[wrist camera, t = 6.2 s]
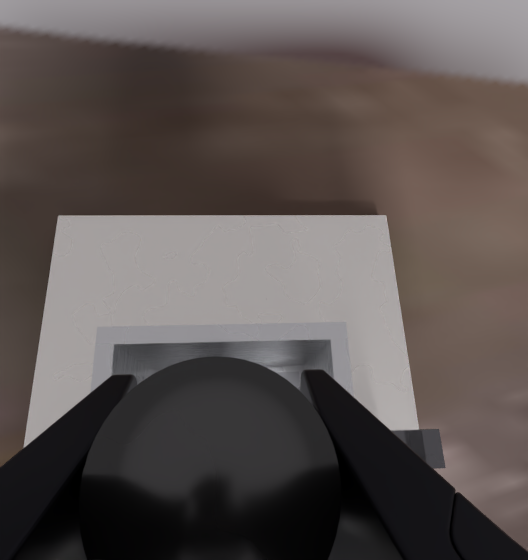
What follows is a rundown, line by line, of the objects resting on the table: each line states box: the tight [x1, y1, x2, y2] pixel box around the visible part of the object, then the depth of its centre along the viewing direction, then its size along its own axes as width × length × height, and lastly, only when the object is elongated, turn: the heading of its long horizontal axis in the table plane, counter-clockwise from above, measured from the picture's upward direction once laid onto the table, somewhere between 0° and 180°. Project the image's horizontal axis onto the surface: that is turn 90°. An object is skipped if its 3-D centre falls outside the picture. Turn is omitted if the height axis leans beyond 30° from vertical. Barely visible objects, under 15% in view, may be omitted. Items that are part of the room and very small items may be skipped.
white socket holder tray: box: [24, 215, 445, 468], centre depth 14 cm, size 20×15×6 cm
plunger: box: [79, 356, 341, 560], centre depth 10 cm, size 5×5×11 cm
